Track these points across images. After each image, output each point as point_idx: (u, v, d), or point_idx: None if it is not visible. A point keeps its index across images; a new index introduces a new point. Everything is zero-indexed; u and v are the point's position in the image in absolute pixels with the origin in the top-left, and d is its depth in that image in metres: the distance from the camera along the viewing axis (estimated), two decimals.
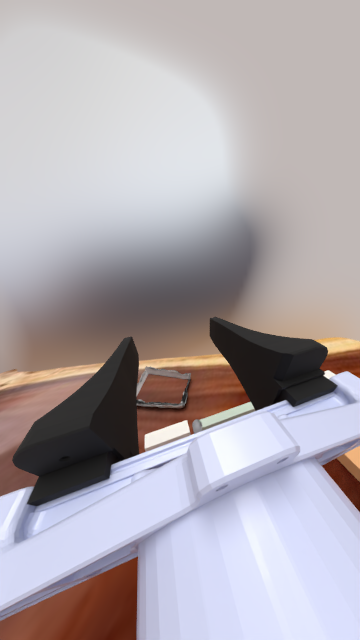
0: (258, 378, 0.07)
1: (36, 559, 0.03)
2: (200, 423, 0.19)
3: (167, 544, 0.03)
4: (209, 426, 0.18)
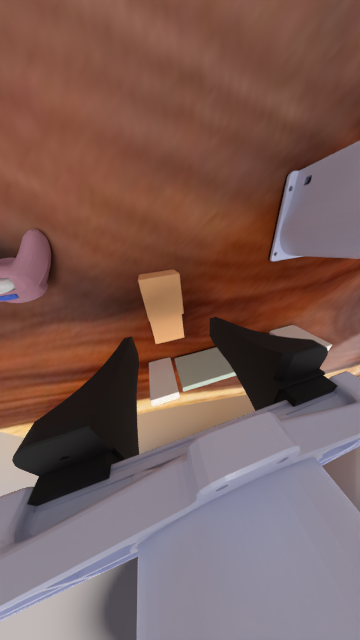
0: (258, 378, 0.07)
1: (36, 559, 0.03)
2: None
3: (167, 543, 0.03)
4: None
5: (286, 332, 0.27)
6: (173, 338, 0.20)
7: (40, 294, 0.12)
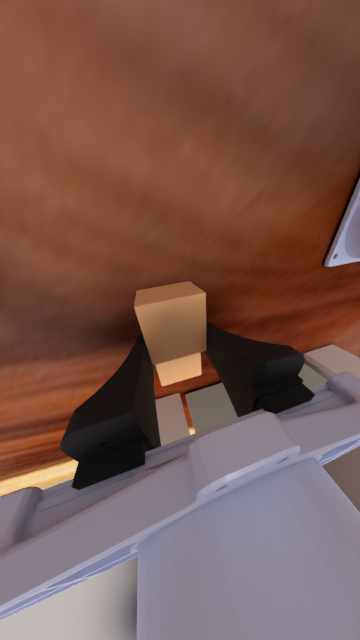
0: (238, 385, 0.07)
1: (36, 559, 0.03)
2: None
3: (167, 543, 0.03)
4: None
5: (327, 356, 0.21)
6: (186, 377, 0.14)
7: None
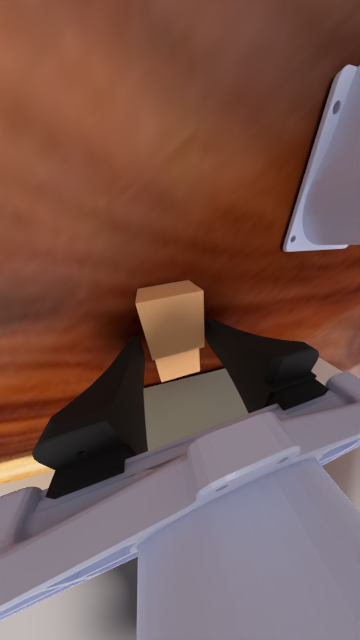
0: (250, 381, 0.07)
1: (36, 559, 0.03)
2: None
3: (167, 543, 0.03)
4: None
5: None
6: (185, 373, 0.15)
7: None
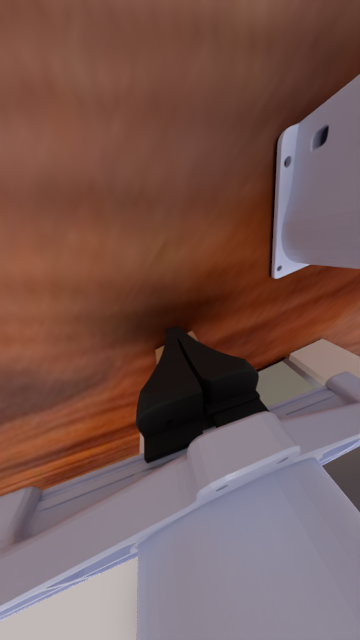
0: None
1: (36, 559, 0.03)
2: None
3: (167, 544, 0.03)
4: None
5: (314, 354, 0.20)
6: None
7: None
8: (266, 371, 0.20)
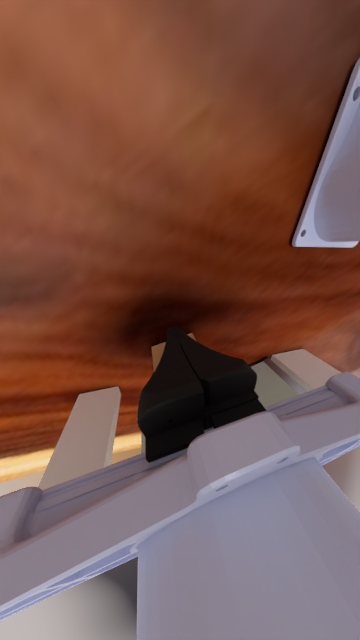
0: None
1: (36, 559, 0.03)
2: None
3: (167, 543, 0.03)
4: None
5: (295, 359, 0.19)
6: None
7: None
8: None
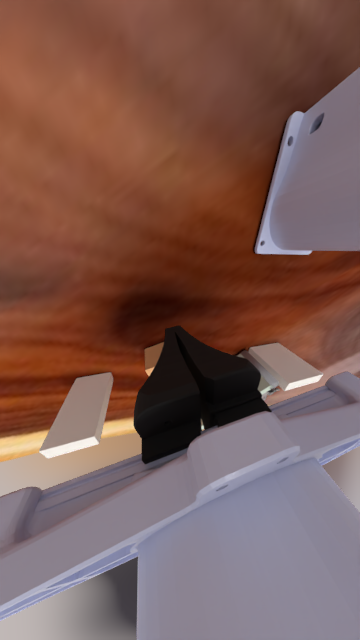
0: (200, 397, 0.07)
1: (36, 559, 0.03)
2: (271, 387, 0.17)
3: (167, 543, 0.03)
4: (261, 387, 0.17)
5: (269, 351, 0.21)
6: None
7: None
8: None
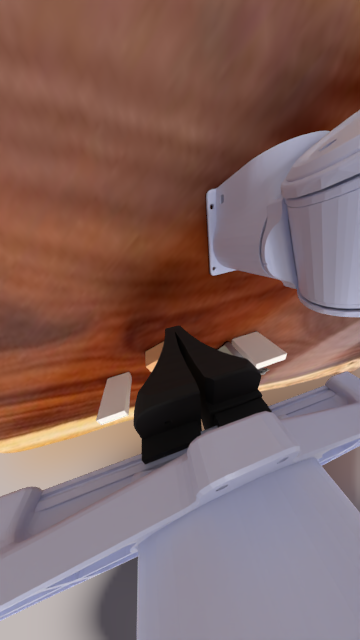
0: (200, 397, 0.07)
1: (36, 559, 0.03)
2: None
3: (167, 544, 0.03)
4: None
5: (247, 340, 0.27)
6: None
7: None
8: None
